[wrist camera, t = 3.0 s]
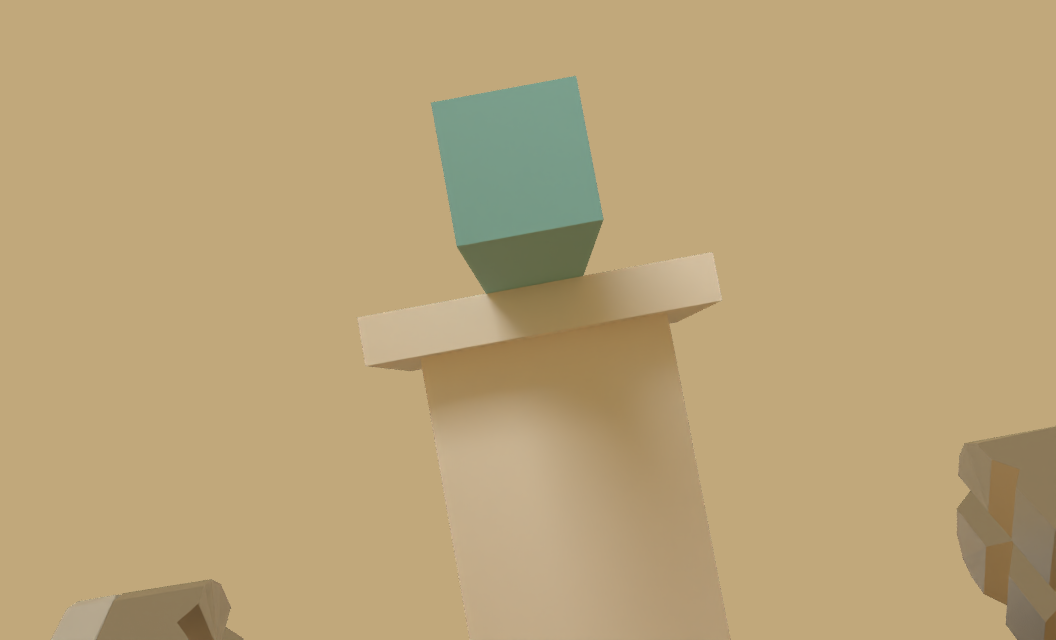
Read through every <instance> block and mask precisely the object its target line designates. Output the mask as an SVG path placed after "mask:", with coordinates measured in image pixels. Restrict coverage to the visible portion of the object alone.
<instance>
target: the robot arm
mask: <svg viewBox="0 0 1056 640" xmlns="http://www.w3.org/2000/svg"><path fill="white" fill-rule="evenodd" d="M958 475H959V477H960V478H961V479H962V480H963V482H964V483H965V484H966V485H967V486H968V488H969V489H970V490H971V491H970V492H969V494H968V495H967V496H966V497H965V499H964V500H963V501H962V503H961V504H960V505H959V507H958V508H957V536H958V540H959V544H960V548H961V552H962V556H963V560H964V561H965V563H966V566H967V568H968V570H969V572H970V574H971V576H972V578H973V579H974V581H975V582H976V583H977V585H978V586H979V588H980V589H981V591H982V592H983V594H985V595H987V596H989V597H992V598H993V599H995V600H997V601H999V602H1001V603H1004V604H1006V605H1007V614H1006V625H1007V627H1008V628H1009V629H1010V631H1011V632H1012V633H1013V635H1014V636H1015V637H1016V639H1017V640H1056V426H1055V427H1050V428H1044V429H1039V430H1033V431H1028V432H1023V433H1018V434H1012V435H1007V436H1001V437H996V438H991V439H986V440H980V441H975V442H969V443H964V446H963V448H962V451H961V453H960V456H959V472H958ZM230 609H231V607H230V604H229V602H228V600H227V597H226V595H225V593H224V591H223V589H222V586H221V584H220V583H218V582H216V581H214V580H204V581H198V582H192V583H186V584H180V585H173V586H167V587H160V588H154V589H148V590H142V591H135V592H129V593H123V594H122V595H113V596H107V597H101V598H95V599H89V600H84V601H78V602H76V603H75V604H74V605H72V606H70V607H69V608H68V609H67V610H66V611H65V613H64V615H63V617H62V619H61V621H60V623H59V625H58V627H57V629H56V631H55V633H54V635H53V637H52V639H51V640H243V638H242V637H240V636H239V635H237V634H236V633H234V632H233V631H231V630H230V629H228V628H226V623H227V620H228V616H229V612H230Z"/></svg>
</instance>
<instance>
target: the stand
mask: <svg viewBox="0 0 1056 640" xmlns="http://www.w3.org/2000/svg"><path fill="white" fill-rule="evenodd" d="M720 301H722V297H721V292H720V287H719V282H718V277H717V272H716V267H715V262H714V257H713V253H712V252H710V253H705V254H700V255H694V256H689V257H683V258H678V259H672V260H667V261H662V262H656V263H651V264H645V265H640V266H634V267H629V268H624V269H618V270H613V271H607V272H602V273H596V274H591V275H586V276H580V277H575V278H569V279H564V280H558V281H553V282H548V283H542V284H537V285H531V286H526V287H520V288H515V289H510V290H504V291H499V292H493V293H488V294H482V295H477V296H472V297H466V298H461V299H455V300H451V301H444V302H439V303H434V304H428V305H423V306H417V307H412V308H407V309H401V310H396V311H390V312H385V313H380V314H374V315H368V316H363V317H358V318H357V319H358V325H359V330H360V336H361V342H362V348H363V354H364V359H365V366H370V367H380V368H388V369H396V370H405V371H414V370H419V369H422V370H423V376H424V381H425V387H426V393H427V399H428V404H429V410H430V416H431V422H432V427H433V433H434V439H435V444H436V450H437V456H438V462H439V467H440V472H441V478H442V484H443V489H444V495H445V501H446V507H447V513H448V519H449V524H450V530H451V535H452V541H453V547H454V552H455V558H456V564H457V570H458V576H459V581H460V586H461V593H462V598H463V604H464V610H465V615H466V621H467V627H468V633H469V638H470V640H731V639H730V635H729V629H728V624H727V619H726V614H725V608H724V603H723V598H722V593H721V588H720V583H719V577H718V573H717V567H716V562H715V558H714V552H713V547H712V541H711V537H710V531H709V526H708V521H707V516H706V511H705V505H704V501H703V496H702V490H701V485H700V480H699V475H698V470H697V465H696V460H695V455H694V449H693V444H692V438H691V433H690V428H689V423H688V418H687V413H686V408H685V403H684V397H683V392H682V387H681V382H680V377H679V372H678V367H677V362H676V356H675V351H674V346H673V341H672V335H671V331H670V326H669V324H670V323H675V322H678V321H680V320H682V319H684V318H686V317H689V316H691V315H693V314H695V313H697V312H699V311H701V310H703V309H705V308H707V307H709V306H711V305H713V304H716V303H718V302H720Z"/></svg>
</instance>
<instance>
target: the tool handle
mask: <svg viewBox="0 0 1056 640" xmlns="http://www.w3.org/2000/svg"><path fill="white" fill-rule="evenodd" d="M431 105H432V111H433V116H434V122H435V127H436V133H437V138H438V144H439V150H440V155H441V161H442V166H443V171H444V177H445V183H446V189H447V194H448V200H449V205H450V211H451V216H452V222H453V227H454V233H455V239H456V244H457V247H458V249H459V251H460V252H461V254H462V255H463V257H464V259H465V260H466V262H467V264H468V265H469V267H470V268H471V270H472V272H473V273H474V275H475V276H476V278H477V280H478V281H479V283H480V284H481V286H482V288H483V289H484V291H485V292H486V294H488V293H493V292H499V291H504V290H510V289H515V288H520V287H526V286H531V285H537V284H542V283H548V282H553V281H558V280H564V279H569V278H575V277H580V276H583V275H584V272H585V269H586V267H587V264H588V261H589V258H590V255H591V252H592V250H593V247H594V244H595V241H596V239H597V236H598V233H599V230H600V228H601V225H602V222H603V215H602V210H601V204H600V199H599V194H598V190H597V183H596V179H595V173H594V168H593V163H592V157H591V152H590V147H589V141H588V136H587V131H586V126H585V121H584V115H583V110H582V105H581V100H580V94H579V89H578V84H577V79H576V76H573V77H568V78H562V79H557V80H552V81H546V82H541V83H536V84H530V85H524V86H519V87H514V88H508V89H503V90H497V91H492V92H487V93H481V94H476V95H470V96H465V97H460V98H454V99H449V100H443V101H438V102H433V103H431Z"/></svg>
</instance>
